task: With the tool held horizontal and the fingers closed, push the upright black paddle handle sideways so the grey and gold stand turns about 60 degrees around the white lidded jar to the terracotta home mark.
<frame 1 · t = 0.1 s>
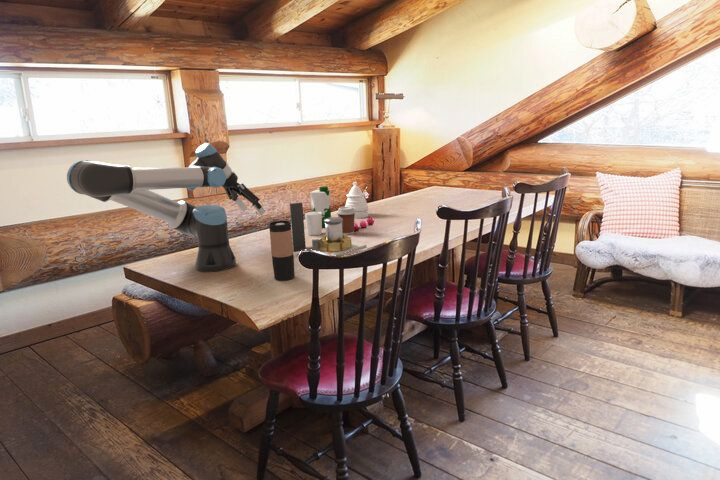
hand: (254, 211, 232), 15 cm above the table, tool tilted 35°, fingers open, 13 cm apart
honey pot: (356, 216, 289), on the table
travel mug: (284, 278, 189), on the table
base plate: (334, 249, 223), on the table
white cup: (314, 234, 253), on the table
milk carton: (322, 226, 268), on the table
white lidded jar: (335, 249, 223), resting on base plate
coffee cup: (347, 233, 251), on the table
grey and gold stand: (324, 225, 218), point 11 cm above the table, hinge at 0.0°
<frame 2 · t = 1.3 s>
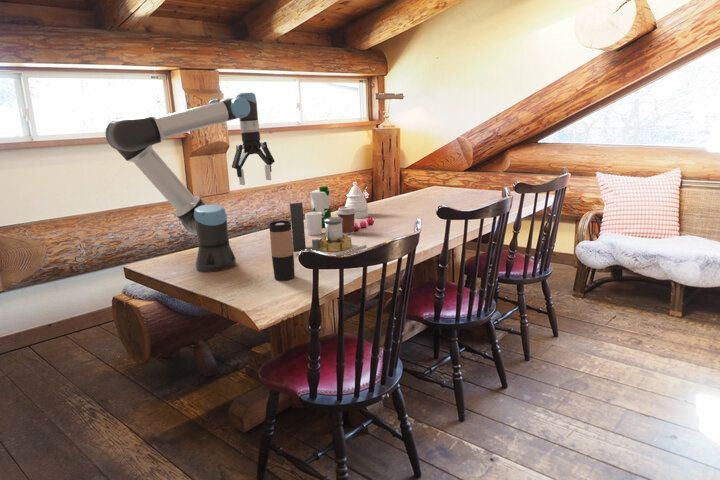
hand: (255, 182, 225), 29 cm above the table, tool pointing down, fingers open, 13 cm apart
nothing on the table moved.
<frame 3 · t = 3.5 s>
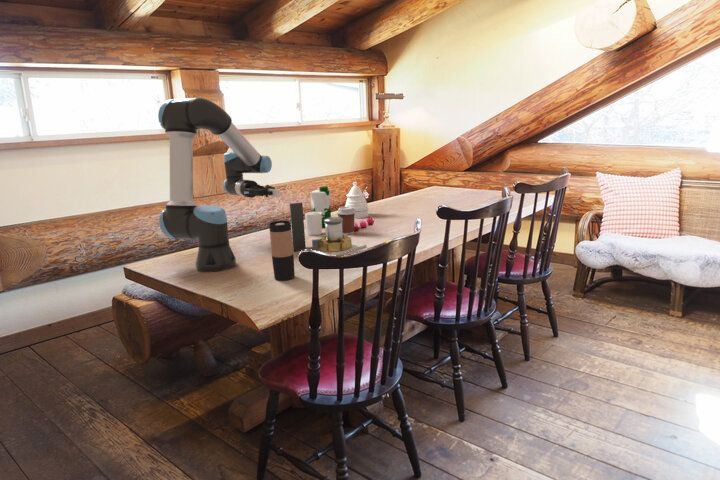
hand: (278, 193, 219), 25 cm above the table, tool horizontal, fingers closed
nothing on the table moved.
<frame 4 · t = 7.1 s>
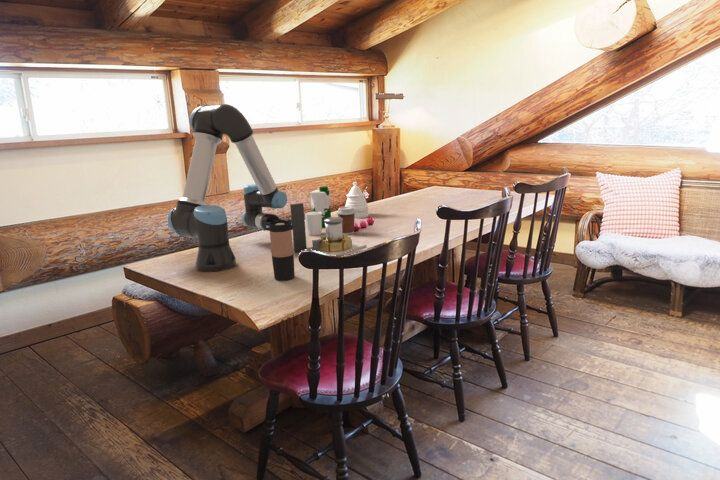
hand: (302, 228, 217), 10 cm above the table, tool horizontal, fingers closed
grey and gold stand: (324, 225, 218), point 11 cm above the table, hinge at 6.4°, touching gripper
everything else where it was.
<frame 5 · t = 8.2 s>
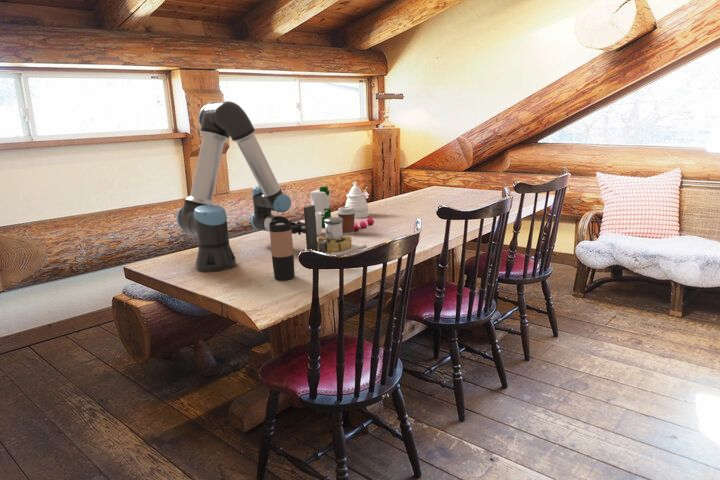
hand: (313, 231, 211), 10 cm above the table, tool horizontal, fingers closed
grey and gold stand: (329, 225, 216), point 11 cm above the table, hinge at 40.8°, touching gripper
everything else where it was.
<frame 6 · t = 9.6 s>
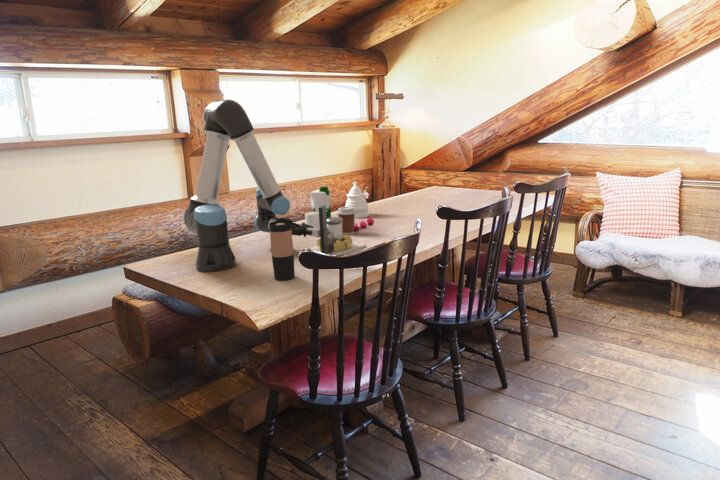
hand: (318, 233, 207), 10 cm above the table, tool horizontal, fingers closed
grey and gold stand: (333, 225, 216), point 11 cm above the table, hinge at 62.2°
everything else where it was.
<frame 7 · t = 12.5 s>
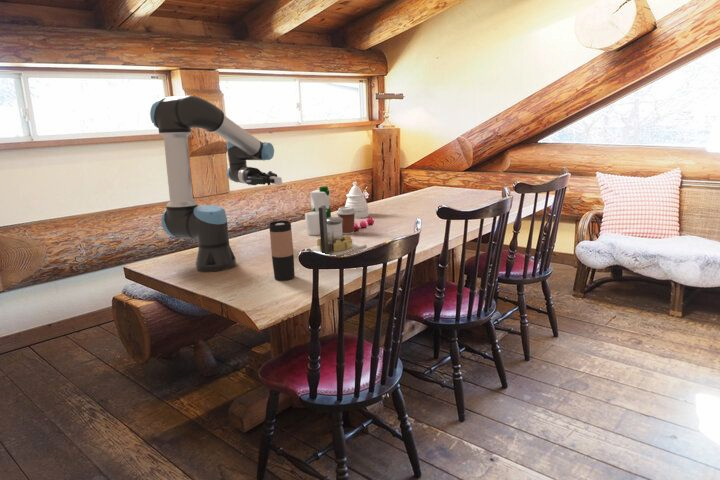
hand: (280, 181, 214), 30 cm above the table, tool horizontal, fingers closed
nothing on the table moved.
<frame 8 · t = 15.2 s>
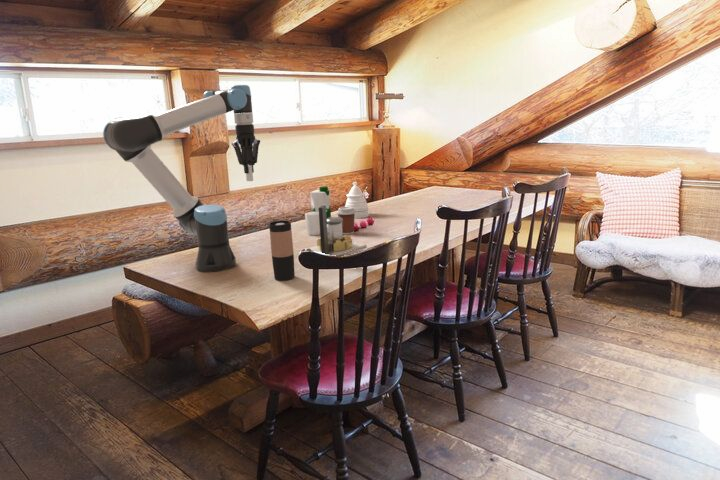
hand: (249, 180, 225), 29 cm above the table, tool pointing down, fingers closed
nothing on the table moved.
at the end: grey and gold stand at +62° (first picture: +0°) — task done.
